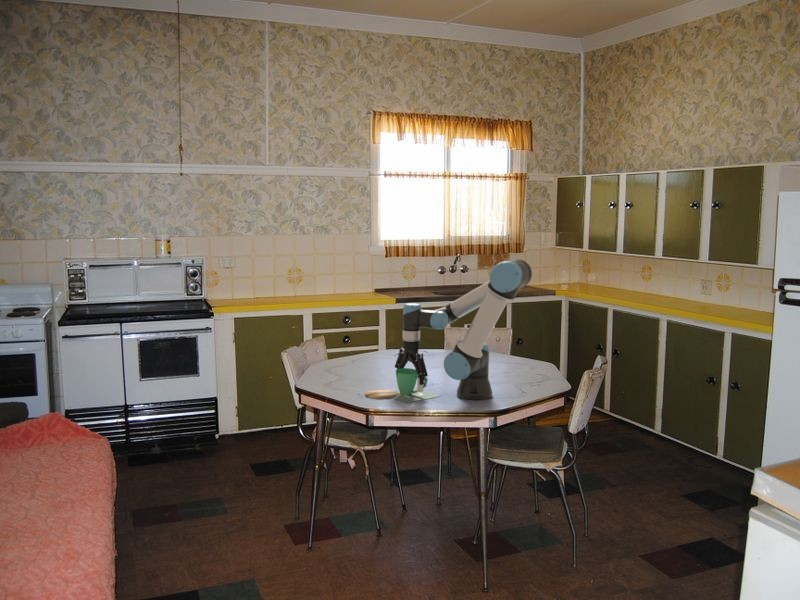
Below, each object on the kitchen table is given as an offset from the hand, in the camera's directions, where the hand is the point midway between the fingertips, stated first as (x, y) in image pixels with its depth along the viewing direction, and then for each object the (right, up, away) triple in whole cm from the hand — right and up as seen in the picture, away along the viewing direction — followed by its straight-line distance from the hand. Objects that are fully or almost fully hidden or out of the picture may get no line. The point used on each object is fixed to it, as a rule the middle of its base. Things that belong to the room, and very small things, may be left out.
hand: (410, 388), depth 315 cm
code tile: (0, -3, 0) cm, 3 cm away
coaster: (-13, -3, +1) cm, 13 cm away
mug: (0, -3, 0) cm, 3 cm away
